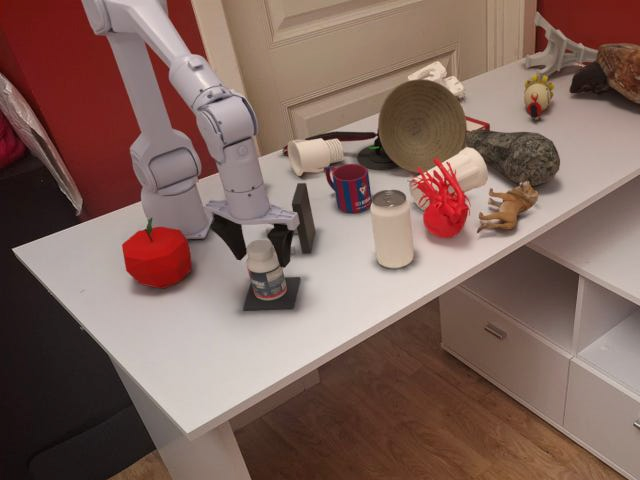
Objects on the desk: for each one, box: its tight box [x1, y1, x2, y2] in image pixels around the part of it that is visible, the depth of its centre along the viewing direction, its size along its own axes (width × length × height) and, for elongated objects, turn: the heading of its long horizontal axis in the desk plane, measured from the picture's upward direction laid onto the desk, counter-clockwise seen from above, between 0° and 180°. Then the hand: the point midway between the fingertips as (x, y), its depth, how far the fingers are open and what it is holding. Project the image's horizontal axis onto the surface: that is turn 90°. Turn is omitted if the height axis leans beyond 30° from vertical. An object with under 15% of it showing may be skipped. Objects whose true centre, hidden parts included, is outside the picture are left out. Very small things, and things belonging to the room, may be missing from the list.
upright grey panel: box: [265, 182, 316, 255], centre depth 122 cm, size 9×7×10 cm
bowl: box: [377, 78, 467, 174], centre depth 145 cm, size 18×18×8 cm
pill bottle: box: [245, 239, 287, 300], centre depth 111 cm, size 5×5×9 cm
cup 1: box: [324, 163, 372, 214], centre depth 134 cm, size 7×10×7 cm
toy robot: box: [356, 130, 401, 171], centre depth 145 cm, size 12×12×12 cm
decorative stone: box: [466, 129, 561, 187], centre depth 140 cm, size 22×10×10 cm
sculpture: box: [568, 42, 640, 104], centre depth 165 cm, size 16×17×25 cm
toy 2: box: [523, 74, 555, 121], centre depth 163 cm, size 7×7×15 cm
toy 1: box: [282, 131, 377, 156], centre depth 148 cm, size 2×22×5 cm
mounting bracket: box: [407, 60, 466, 99], centre depth 171 cm, size 12×6×11 cm
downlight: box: [287, 138, 345, 177], centre depth 144 cm, size 8×7×10 cm
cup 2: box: [408, 147, 489, 211], centre depth 134 cm, size 8×8×14 cm
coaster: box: [242, 276, 301, 312], centre depth 115 cm, size 8×8×1 cm
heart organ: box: [408, 158, 471, 239], centre depth 124 cm, size 10×12×12 cm
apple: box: [121, 217, 192, 289], centre depth 115 cm, size 11×11×10 cm
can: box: [370, 188, 415, 270], centre depth 118 cm, size 6×6×12 cm
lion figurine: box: [476, 181, 539, 234], centre depth 129 cm, size 15×5×9 cm
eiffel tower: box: [524, 11, 599, 81], centre depth 182 cm, size 13×13×30 cm
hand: (263, 260), depth 110 cm, fingers open, 7 cm apart
